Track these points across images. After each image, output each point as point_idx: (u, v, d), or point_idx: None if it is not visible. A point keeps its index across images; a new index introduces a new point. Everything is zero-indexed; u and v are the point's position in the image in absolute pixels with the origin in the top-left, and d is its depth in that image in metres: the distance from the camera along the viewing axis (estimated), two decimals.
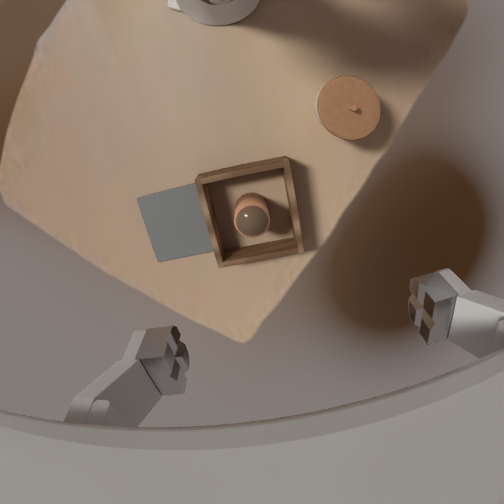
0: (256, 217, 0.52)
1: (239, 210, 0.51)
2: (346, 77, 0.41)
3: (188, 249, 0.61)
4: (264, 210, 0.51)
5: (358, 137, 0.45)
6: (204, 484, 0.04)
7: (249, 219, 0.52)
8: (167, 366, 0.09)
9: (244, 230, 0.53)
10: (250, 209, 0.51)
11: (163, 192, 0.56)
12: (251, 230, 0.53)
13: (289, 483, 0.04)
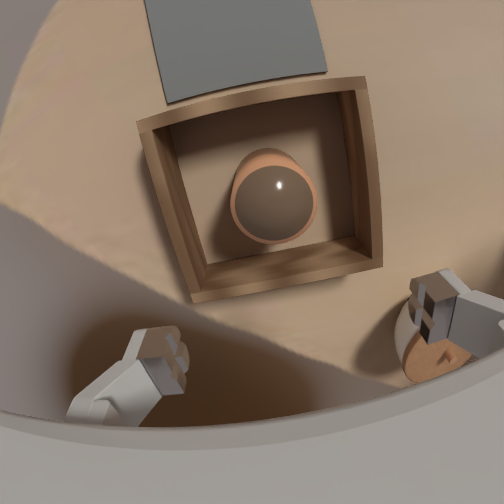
0: (284, 213, 0.21)
1: (302, 175, 0.20)
2: None
3: (171, 48, 0.22)
4: (299, 231, 0.22)
5: (407, 367, 0.28)
6: (204, 484, 0.04)
7: (277, 198, 0.21)
8: (167, 366, 0.09)
9: (249, 186, 0.21)
10: (304, 201, 0.21)
11: (309, 6, 0.20)
12: (250, 203, 0.21)
13: (289, 483, 0.04)
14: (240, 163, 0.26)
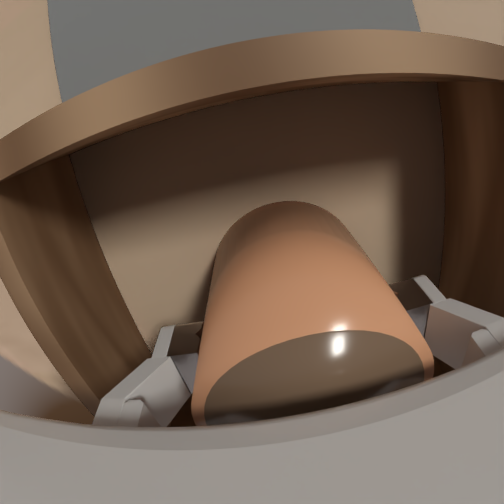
0: None
1: (415, 345, 0.06)
2: None
3: None
4: None
5: None
6: (204, 484, 0.04)
7: (331, 404, 0.06)
8: None
9: (247, 387, 0.06)
10: None
11: None
12: (250, 418, 0.06)
13: (289, 483, 0.04)
14: (225, 239, 0.12)
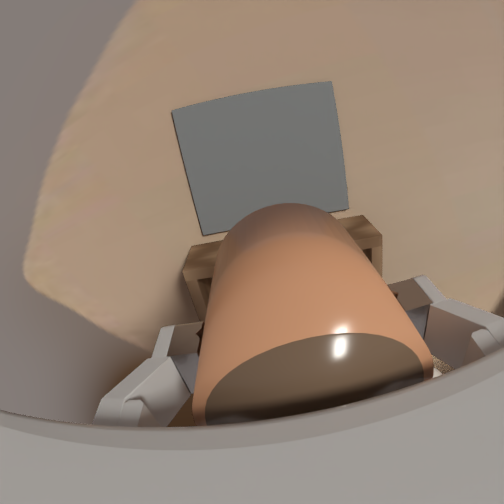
0: None
1: (414, 347, 0.06)
2: None
3: (205, 183, 0.27)
4: None
5: None
6: (204, 484, 0.04)
7: (331, 406, 0.06)
8: None
9: (248, 389, 0.06)
10: None
11: (338, 142, 0.26)
12: (250, 419, 0.06)
13: (289, 483, 0.04)
14: (225, 241, 0.12)
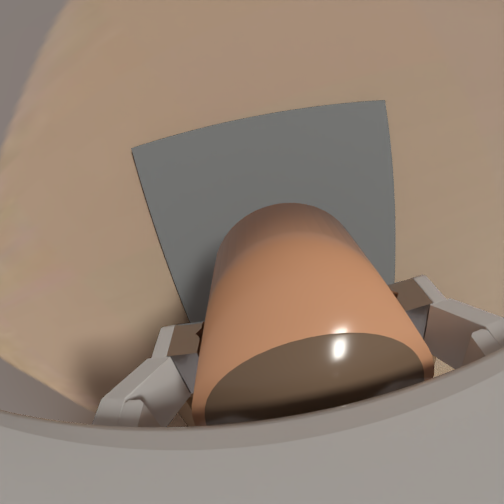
0: None
1: (415, 347, 0.06)
2: None
3: (189, 258, 0.18)
4: None
5: None
6: (204, 484, 0.04)
7: (332, 406, 0.06)
8: None
9: (248, 389, 0.06)
10: None
11: (390, 195, 0.17)
12: (250, 419, 0.06)
13: (289, 483, 0.04)
14: (225, 240, 0.12)
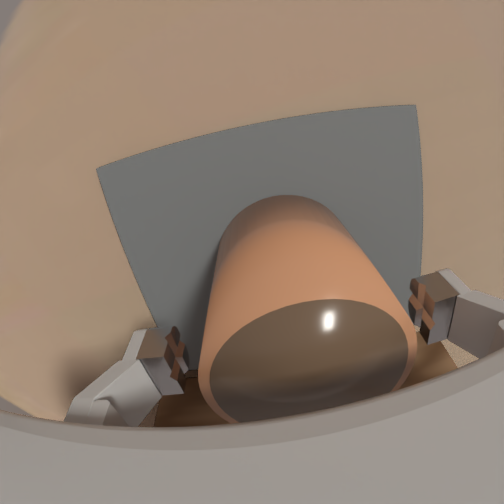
0: (334, 395, 0.08)
1: (396, 316, 0.07)
2: None
3: (173, 301, 0.15)
4: None
5: None
6: (204, 484, 0.04)
7: (324, 371, 0.07)
8: (167, 366, 0.09)
9: (248, 352, 0.07)
10: (385, 369, 0.07)
11: (418, 223, 0.13)
12: (251, 384, 0.07)
13: (289, 483, 0.04)
14: (227, 229, 0.13)
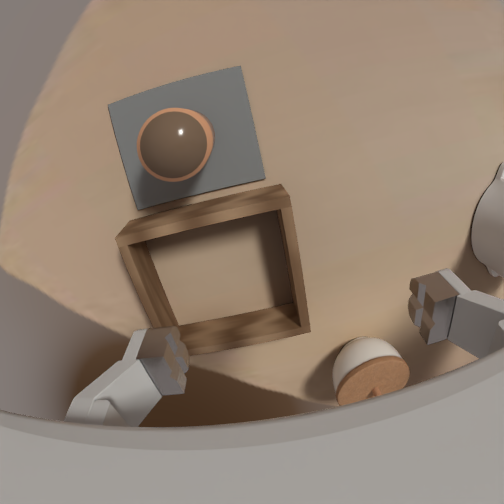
0: (181, 152, 0.23)
1: (195, 117, 0.22)
2: (407, 378, 0.36)
3: (136, 163, 0.30)
4: (197, 168, 0.24)
5: (340, 401, 0.37)
6: (204, 484, 0.04)
7: (175, 139, 0.23)
8: (167, 366, 0.09)
9: (151, 131, 0.22)
10: (198, 140, 0.23)
11: (250, 118, 0.29)
12: (152, 145, 0.23)
13: (289, 482, 0.04)
14: None
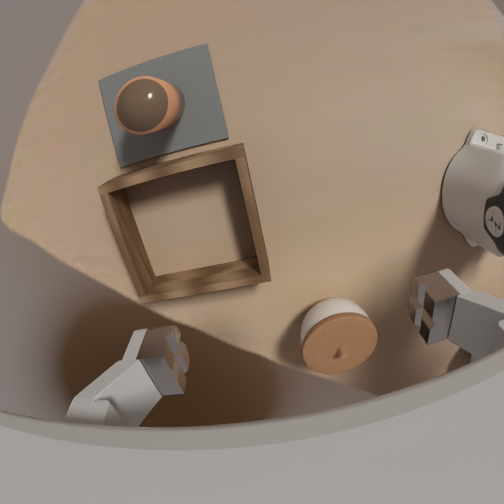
0: (148, 110, 0.26)
1: (159, 82, 0.25)
2: (375, 340, 0.39)
3: (120, 127, 0.33)
4: (160, 123, 0.27)
5: (305, 358, 0.40)
6: (204, 484, 0.04)
7: (143, 100, 0.26)
8: (167, 366, 0.09)
9: (125, 95, 0.25)
10: (161, 100, 0.26)
11: (214, 86, 0.32)
12: (126, 106, 0.26)
13: (289, 483, 0.04)
14: None
